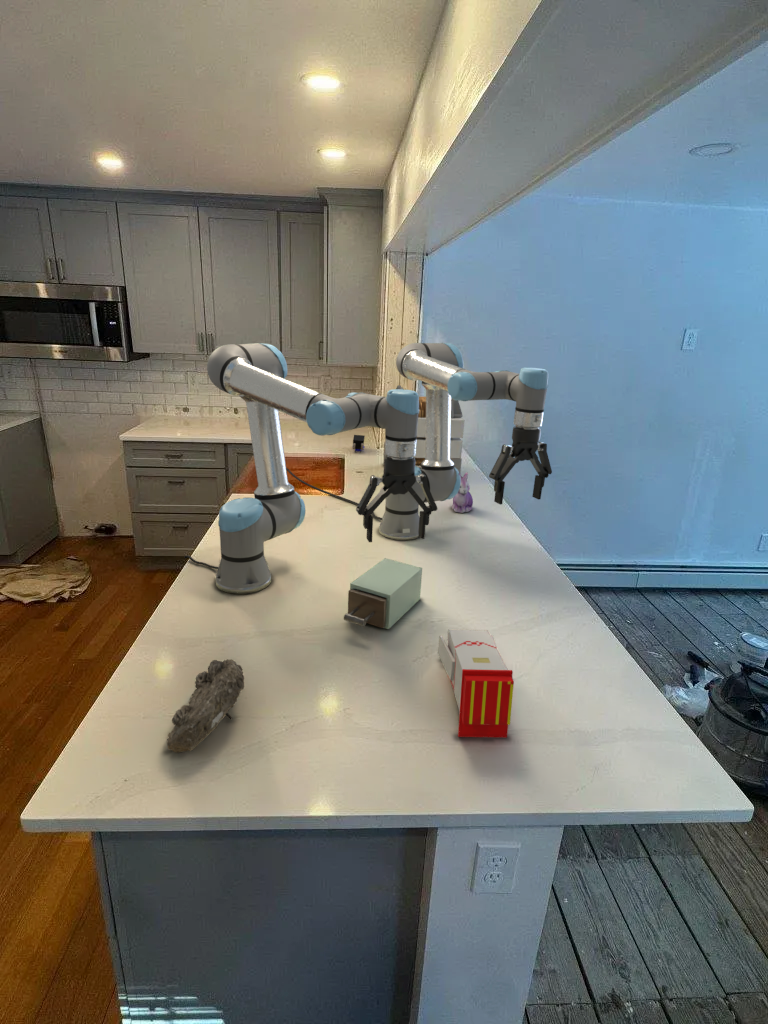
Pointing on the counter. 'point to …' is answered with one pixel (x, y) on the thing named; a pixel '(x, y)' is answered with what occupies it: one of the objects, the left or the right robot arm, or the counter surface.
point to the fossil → (206, 705)
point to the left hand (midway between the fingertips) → (395, 538)
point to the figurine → (463, 496)
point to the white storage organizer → (455, 433)
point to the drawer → (366, 608)
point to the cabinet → (392, 586)
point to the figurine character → (358, 442)
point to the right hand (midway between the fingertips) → (517, 500)
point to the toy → (478, 682)
